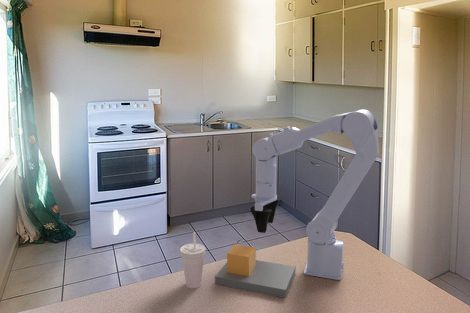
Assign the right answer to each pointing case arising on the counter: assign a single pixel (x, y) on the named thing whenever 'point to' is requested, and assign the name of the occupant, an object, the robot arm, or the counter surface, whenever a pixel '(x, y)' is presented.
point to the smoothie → (193, 262)
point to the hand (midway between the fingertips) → (265, 227)
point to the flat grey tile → (260, 278)
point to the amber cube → (241, 260)
